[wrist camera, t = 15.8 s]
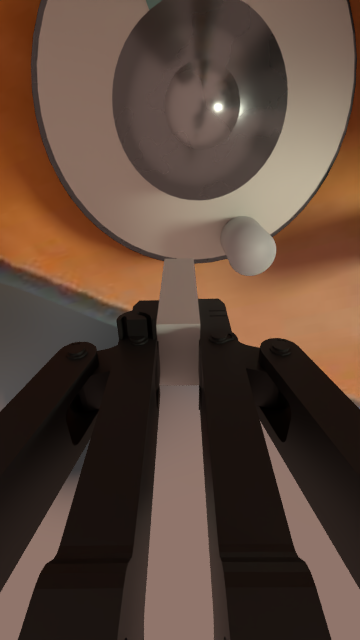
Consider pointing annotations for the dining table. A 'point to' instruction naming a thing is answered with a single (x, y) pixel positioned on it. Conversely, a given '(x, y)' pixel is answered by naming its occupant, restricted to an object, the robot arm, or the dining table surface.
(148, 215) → the turntable
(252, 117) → the cover
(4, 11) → the dining table surface
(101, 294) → the dining table surface
